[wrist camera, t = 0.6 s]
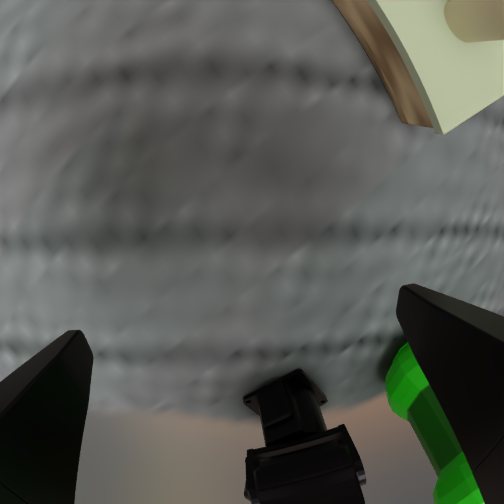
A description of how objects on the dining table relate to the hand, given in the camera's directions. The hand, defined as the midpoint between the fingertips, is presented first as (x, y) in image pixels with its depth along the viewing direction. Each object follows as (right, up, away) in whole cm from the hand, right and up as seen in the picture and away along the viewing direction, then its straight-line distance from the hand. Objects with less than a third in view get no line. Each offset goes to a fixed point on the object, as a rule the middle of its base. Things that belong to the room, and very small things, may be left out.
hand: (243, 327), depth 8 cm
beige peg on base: (+13, +16, +4) cm, 21 cm away
